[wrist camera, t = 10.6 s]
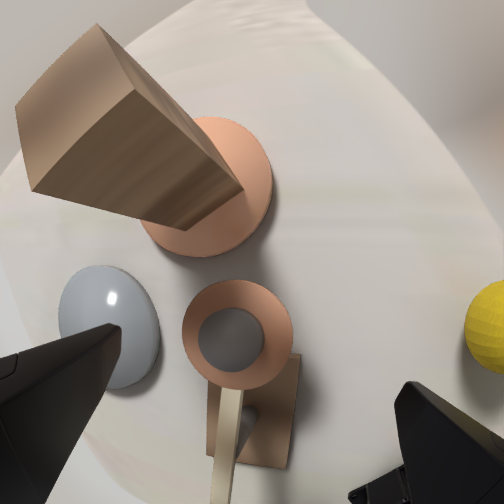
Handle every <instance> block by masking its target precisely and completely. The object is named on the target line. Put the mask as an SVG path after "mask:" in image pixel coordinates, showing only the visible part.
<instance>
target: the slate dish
mask: <svg viewBox="0 0 504 504" xmlns="http://www.w3.org/2000/svg"><path fill="white" fill-rule="evenodd" d="M58 320H59V330H60V335H61V338H64V337H67V336H70V335H73V334H76V333H79V332H82V331H85V330H88V329H91V328H94V327H97V326H100V325H103V324H106V323H112V324H115V325H118V326H120V327H121V329H122V344H121V354H120V357H119V359H118V362H117V364H116V366H115V369H114V371H113V373H112V376H111V378H110V380H109V383H108V385H107V388H108V389H121V388H125V387H127V386H130V385H132V384H133V383H135V382H137V381H139V380H140V379H142V378H143V377H145V375H146V374H147V373H148V372H149V371H150V370H151V368H152V367H153V365H154V363H155V361H156V358H157V355H158V350H159V344H160V329H159V322H158V318H157V314H156V311H155V308H154V305H153V303H152V301H151V299H150V297H149V295H148V293H147V292H146V290H145V289H144V288H143V286H142V285H141V284H140V283H139V282H138V281H137V280H136V279H135V278H134V277H133V276H132V275H130V274H129V273H128V272H126V271H124V270H122V269H119V268H117V267H112V266H90V267H86V268H84V269H82V270H80V271H78V272H77V273H76V274H75V275H74V276H73V277H72V278H71V279H70V280H69V281H68V283H67V285H66V286H65V288H64V291H63V293H62V296H61V299H60V304H59V314H58Z"/></svg>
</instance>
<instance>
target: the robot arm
mask: <svg viewBox="0 0 504 504" xmlns="http://www.w3.org/2000/svg"><path fill="white" fill-rule="evenodd" d="M121 344H122V329H121V327H120V326H118V325H115V324H112V323H106V324H103V325H100V326H97V327H94V328H91V329H88V330H85V331H82V332H79V333H76V334H73V335H70V336H67V337H64V338H61V339H58V340H55V341H52V342H49V343H46V344H43V345H40V346H37V347H34V348H31V349H28V350H25V351H22V352H19V353H18V354H17V353H15V354H12V355H10V356H6V357H3V358H0V504H45V503H46V501H47V498H48V496H49V495H50V493H51V491H52V489H53V487H54V485H55V483H56V481H57V479H58V477H59V475H60V473H61V471H62V469H63V467H64V465H65V463H66V462H67V460H68V458H69V456H70V454H71V452H72V450H73V449H74V447H75V445H76V443H77V441H78V439H79V438H80V436H81V434H82V432H83V430H84V428H85V427H86V425H87V423H88V421H89V420H90V418H91V416H92V414H93V412H94V411H95V409H96V407H97V405H98V404H99V402H100V400H101V398H102V396H103V394H104V392H105V390H106V388H107V385H108V383H109V380H110V378H111V376H112V373H113V371H114V369H115V366H116V364H117V362H118V359H119V357H120V354H121ZM394 409H395V415H396V422H397V430H398V437H399V444H400V449H401V453H402V457H403V462H404V464H403V465H401V466H400V467H398V468H396V469H394V470H393V471H391V472H389V473H387V474H385V475H383V476H381V477H379V478H378V479H376V480H374V481H372V482H370V483H368V484H366V485H364V486H361V487H359V488H357V489H355V490H353V491H351V492H349V494H348V499H349V501H350V502H351V503H352V504H504V439H503V438H501V437H500V436H498V435H497V434H495V433H494V432H492V431H490V430H489V429H487V428H486V427H484V426H483V425H481V424H480V423H478V422H477V421H475V420H474V419H472V418H471V417H469V416H468V415H466V414H465V413H463V412H462V411H460V410H459V409H457V408H456V407H454V406H453V405H452V404H450V403H449V402H447V401H446V400H444V399H443V398H441V397H440V396H438V395H437V394H435V393H434V392H432V391H431V390H429V389H428V388H426V387H425V386H423V385H422V384H420V383H419V382H414V381H408V382H406V383H405V384H404V386H403V388H402V389H401V391H400V393H399V394H398V396H397V398H396V400H395V403H394ZM354 495H356V496H355V497H352V496H354Z"/></svg>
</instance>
